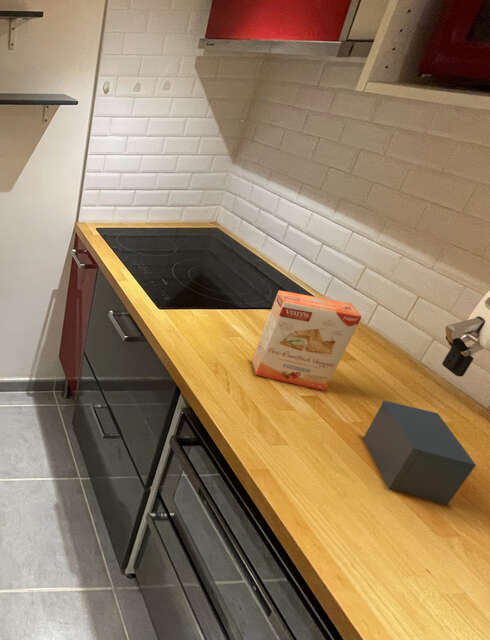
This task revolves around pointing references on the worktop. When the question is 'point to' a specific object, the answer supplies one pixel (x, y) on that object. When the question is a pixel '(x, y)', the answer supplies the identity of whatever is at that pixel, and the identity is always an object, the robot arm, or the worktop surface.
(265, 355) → the cracker box
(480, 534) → the worktop surface
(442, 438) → the grey open box
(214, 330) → the worktop surface
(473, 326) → the robot arm
